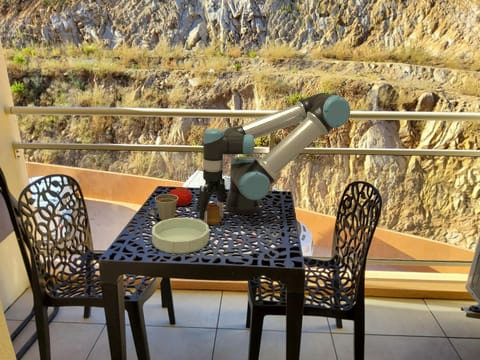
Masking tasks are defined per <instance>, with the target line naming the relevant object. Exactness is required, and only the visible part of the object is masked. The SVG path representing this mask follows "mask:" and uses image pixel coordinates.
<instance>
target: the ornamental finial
mask: <svg viewBox="0 0 480 360" xmlns="http://www.w3.org/2000/svg"><path fill="white" fill-rule="evenodd" d="M206 211H207V224H208V226H217V225H219V224H220V223H222V218H221V216H220V207H219V206H218V205H217V203H215V202H209V203H208V206H207V209H206Z"/></svg>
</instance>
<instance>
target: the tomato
mask: <svg viewBox="0 0 480 360" xmlns="http://www.w3.org/2000/svg"><path fill="white" fill-rule="evenodd" d="M168 194H172V195H176V196H178V200H177V203H176V206H183V207H184V206H188V205H189V204H191V203H192V200H193V195H192V193H191V191H190V190H189V189H188V188H185V187H183V186H179V187H176V188H175V189H171V190H170V191H169V192H168Z"/></svg>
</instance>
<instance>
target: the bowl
mask: <svg viewBox="0 0 480 360" xmlns="http://www.w3.org/2000/svg"><path fill="white" fill-rule="evenodd" d="M151 228H152V230H151V243H152V245H153V247H154V248H155V249H157V250H159V251H160V252H163V251H164V253H168V254H176V255H177V254H180V255H181V254H188V253H190V254H191V253H195V252H197V251H200V250H201V249H203V248H205V247H206V246H207V245H208V243H209V240H210V229H209V225H208V224H206V223H204V222H202V221H201V220H200V219H197V218H191V217H175V218H171V219H167V220H160V221H159V222H157V223H155V225H153V226H152V227H151Z"/></svg>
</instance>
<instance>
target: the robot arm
mask: <svg viewBox="0 0 480 360" xmlns="http://www.w3.org/2000/svg"><path fill="white" fill-rule="evenodd" d="M350 117H351V105H350V103H349V101H348V100H347V99H346V98H344V97H343V96H340V95H339V94H331V93H327V92H319V93H315V94H313V95H311V96H310V95H309V96H308V97H305V98H302V99H300V100H297V101H296V102H295V104H294V105H290V106H288V107H286V108H283V109H281V110H278V111H275V112H272V113H269V114H267V115H265V116H261V117H259V118H256V119H253V120H250V121H249V122H245V123H242V124H241V125H237V126H235V127H234V126H233V127H232V126H229V127H226V128H225V129H224V130H223V129H220V128H219V129H218V128H207V129H206V130H204V132H203V141H202V143H203V151H202V152H203V156H202V157H203V161H202V162H203V167H202V168H203V170H202V178H203V180H204V182H205V183H204V185H199V194H198V199H197V202H196V203H197V204H196V208H195V211H196V212H199V220H201V221H202V222H204V223H206V224H207V211H206V209H207V206H208V204H209V203H210V200H211V197H212V196H213V194H215V196H216V198H217V202H216V204H217V205H218V206H219V207H220V216H221V219H223V218H224V208H225V209H226V210H227V211H228V212H231V213H233V214H237V215H239V214H240V215H248V214H255V213H257V212H259V210H260V207H261V206H260V204H261V203H260V201H259V200H260V199H263V198H264V197H266V196H267V194H268V193H269V192H270V188H271V185H272V184H273V183H275V182H276V180H277V174H279V173H280V172H281V171H282V170H284V168H286V166H288V165H289V164H290V163H291V162H292V161H293V160H294V159H295V158H296V157H298V155H299V154H301V153H302V152H303V151H304V150H305V149H307V147H308V146H310V144H312V143H313V142H314V141H315V140H316V139H317V138H319V136H321V135H328V134H329V133H330V132H331V131H332V130H333V129H336V128H341V127H344V125H345V124H347V123H348V122H349V119H350ZM296 124H298V125H297V126H296V127H295V128H294V129H293V130H292V131H290V132H289V133H288V134H287V135H286V136H285V137H284V138H283V139H282V140H281V141H280V142H278V143H277V144H276V145H275V146H274V147H273V148H272V149H271V150H270V151H268V152H267V153H266V154H265V155H264V156H263V157H262V158H257V157H254V156H245V155H252V154H253V153H254V152H255V145H256V144H255V140H256V139H258V138H263V137H265V136H267V135H270V134H272V133H274V132H278V131H280V130H283V129H285V128H288V127H291V126H293V125H296ZM224 155H244V156H236V157H232V158H231V159H230V175H229V176H230V177H229V181H230V182H229V193H228V195H227V189H226V184H225V182H226V180H225V178H223V168H224V164H223V163H224ZM224 204H225V206H224Z"/></svg>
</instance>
